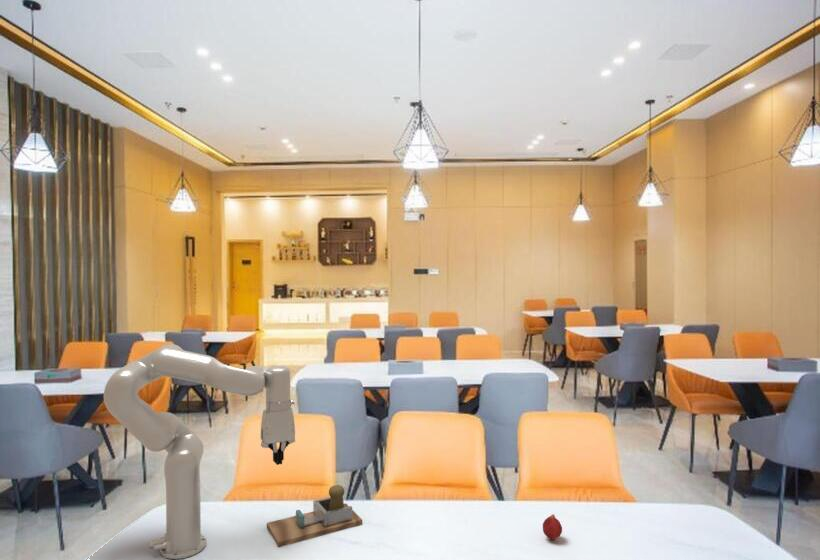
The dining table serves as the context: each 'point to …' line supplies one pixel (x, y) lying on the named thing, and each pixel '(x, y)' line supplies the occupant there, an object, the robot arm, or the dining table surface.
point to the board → (305, 528)
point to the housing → (324, 514)
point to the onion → (552, 527)
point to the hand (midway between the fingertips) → (278, 463)
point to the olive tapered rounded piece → (336, 497)
